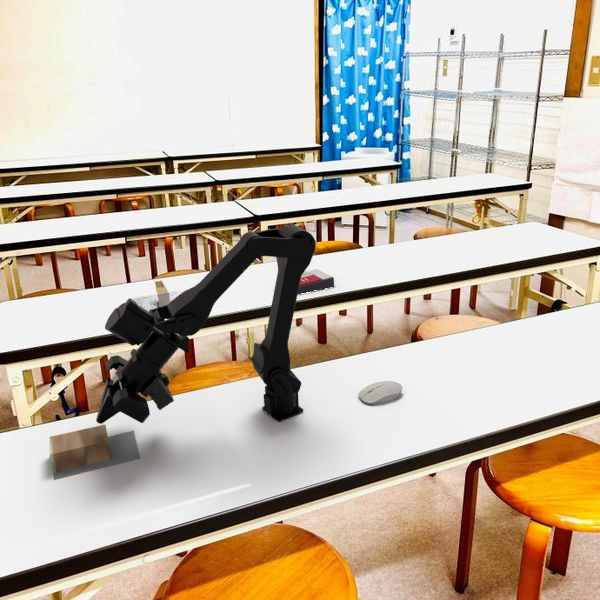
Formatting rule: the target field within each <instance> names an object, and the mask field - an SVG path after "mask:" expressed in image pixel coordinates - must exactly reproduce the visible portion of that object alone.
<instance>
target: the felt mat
mask: <svg viewBox="0 0 600 600" xmlns="http://www.w3.org/2000/svg"><path fill="white" fill-rule="evenodd" d="M107 436H108V441H109V448H110V454H111V459H110V460H106V461H102V462H98V463H94V464H90V465H86V466H81V467H77V468H73V469H69V470H65V471H61V472H57V473H53V481H56V480H60V479H64V478H68V477H72V476H75V475H79V474H84V473H87V472H91V471H97V470H101V469H103V468H108V467H112V466H116V465H119V464H124V463H128V462H133V461H135V460H136V461H137V460H140V459H141V456H140V452H139V448H138V447H139V446H138V443H137V440H136V435H135V430H131V431H125V432H120V433H116V434H113V435H107Z"/></svg>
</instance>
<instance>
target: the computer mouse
mask: <svg viewBox="0 0 600 600" xmlns="http://www.w3.org/2000/svg"><path fill="white" fill-rule="evenodd" d="M402 392H403V385H402V384H401V383H399V382H398V381H397V382H396V381H393V380H383V381H378V382H377V381H376V382H374V383H371V384H369V385H367V386H365V387H364V388H362V390H361V389H360V391H359V392H358V395H357V396H358V397H359V399H360V400H361V401H362V402H364V403H365V404H367V405H380V404H385V403H388V402H391V401H393V400H395V399H396V398H398V397H399V396H400V395H401V393H402Z"/></svg>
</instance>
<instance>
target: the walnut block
mask: <svg viewBox="0 0 600 600" xmlns="http://www.w3.org/2000/svg"><path fill="white" fill-rule="evenodd" d="M108 436H109V435H108V430H107V426H106V424H100V425H96V426H91V427H87V428H83V429H79V430H75V431H70V432H65V433H61V434H57V435H53V436H49V450H48V451H49V460H50V464H51V468H52V472H53V474H54V473H57V472H61V471H65V470H69V469H73V468H77V467H81V466H86V465H90V464H94V463H98V462H102V461H106V460H110V459H111V454H110V448H109V441H108Z"/></svg>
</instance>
